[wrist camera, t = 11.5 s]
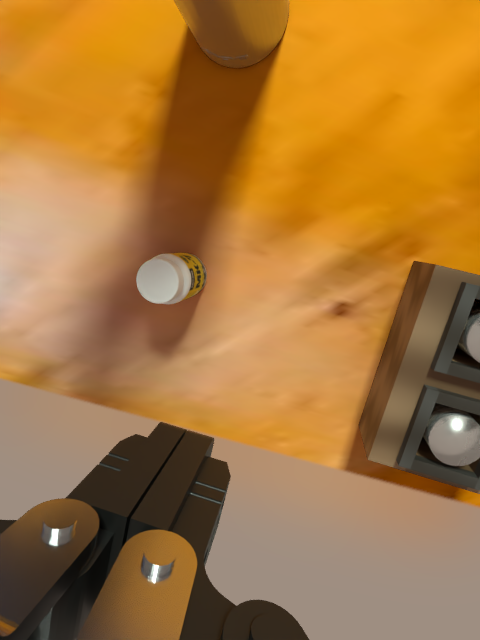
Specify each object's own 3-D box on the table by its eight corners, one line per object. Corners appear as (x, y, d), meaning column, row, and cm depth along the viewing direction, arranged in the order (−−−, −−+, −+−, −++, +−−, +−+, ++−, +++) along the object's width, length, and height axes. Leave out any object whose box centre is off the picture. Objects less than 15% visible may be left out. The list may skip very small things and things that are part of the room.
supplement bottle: (214, 287, 43) (191, 297, 34) (176, 302, 44) (145, 316, 35) (196, 245, 42) (169, 245, 34) (158, 262, 43) (122, 266, 35)
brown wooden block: (414, 260, 39) (439, 265, 31) (543, 292, 37) (605, 305, 29) (358, 425, 43) (369, 465, 35) (473, 459, 41) (511, 509, 33)
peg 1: (418, 382, 39) (439, 410, 33) (463, 395, 39) (495, 426, 32) (404, 421, 40) (422, 456, 34) (448, 434, 40) (475, 472, 33)
